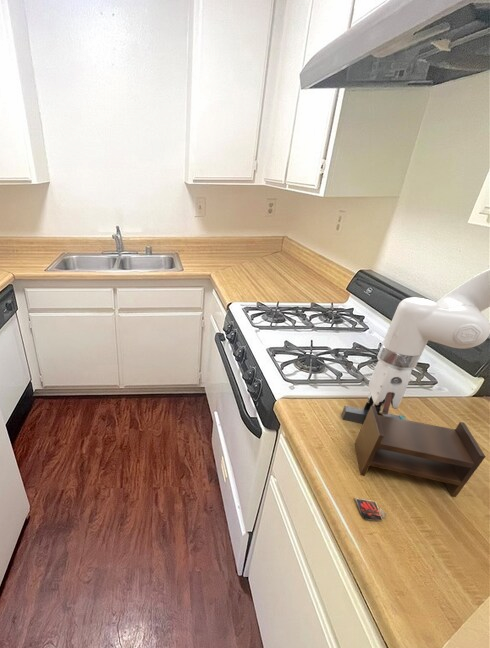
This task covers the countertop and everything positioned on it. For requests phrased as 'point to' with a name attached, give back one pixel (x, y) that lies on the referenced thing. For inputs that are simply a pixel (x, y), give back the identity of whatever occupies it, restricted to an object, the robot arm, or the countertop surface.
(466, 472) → the desk shelf
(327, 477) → the countertop surface
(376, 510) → the matchbox
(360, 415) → the marker pen
